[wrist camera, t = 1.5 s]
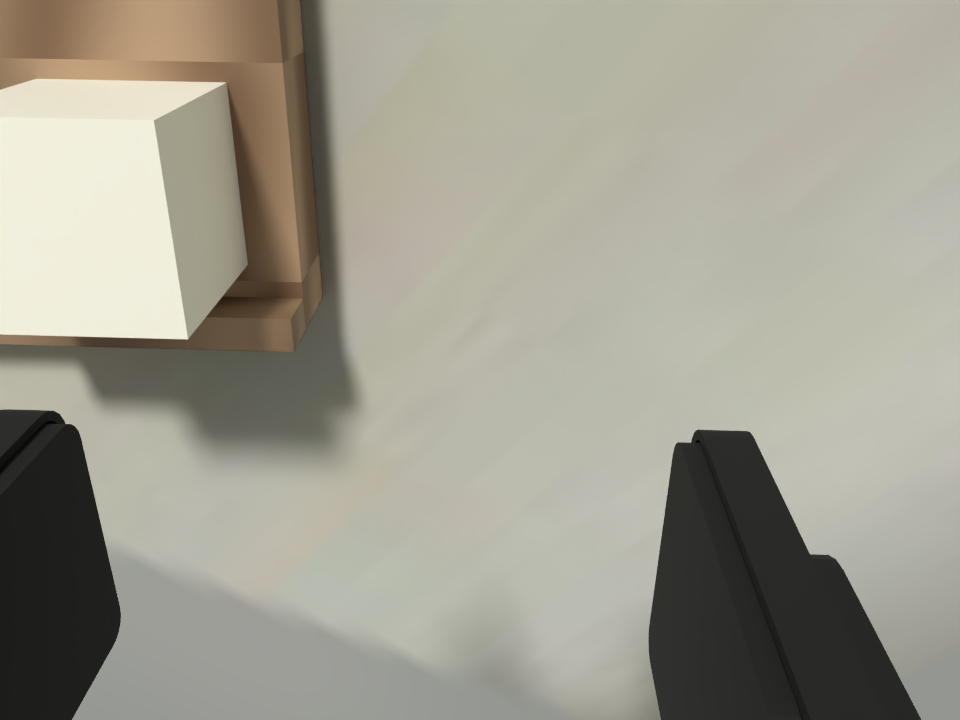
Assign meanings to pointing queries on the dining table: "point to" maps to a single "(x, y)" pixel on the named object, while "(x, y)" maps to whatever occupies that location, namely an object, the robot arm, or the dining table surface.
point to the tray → (255, 126)
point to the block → (116, 207)
